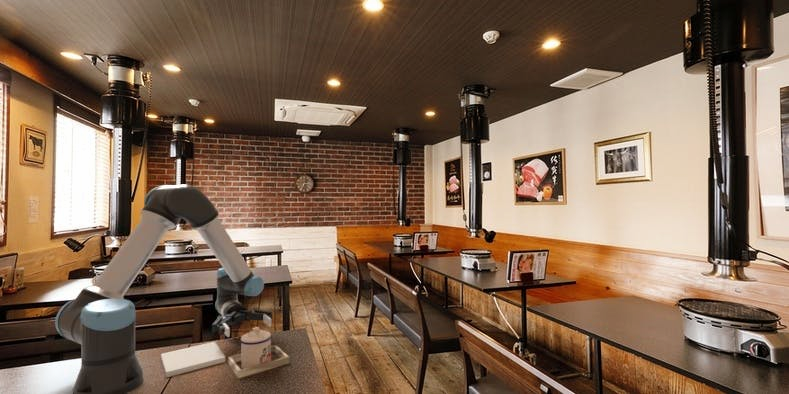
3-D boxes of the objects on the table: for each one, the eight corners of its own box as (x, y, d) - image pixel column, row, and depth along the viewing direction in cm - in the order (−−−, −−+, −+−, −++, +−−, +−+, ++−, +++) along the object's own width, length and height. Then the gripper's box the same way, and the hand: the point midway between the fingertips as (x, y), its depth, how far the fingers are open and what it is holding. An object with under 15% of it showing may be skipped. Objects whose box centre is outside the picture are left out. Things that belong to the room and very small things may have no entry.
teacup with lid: (264, 372, 107) (264, 333, 107) (235, 372, 107) (234, 333, 107) (279, 354, 119) (279, 319, 119) (252, 354, 119) (252, 319, 119)
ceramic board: (160, 358, 117) (160, 353, 117) (214, 345, 127) (214, 341, 127) (166, 377, 104) (166, 372, 104) (225, 361, 114) (225, 357, 114)
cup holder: (228, 363, 113) (228, 357, 113) (275, 350, 122) (275, 344, 122) (238, 378, 103) (238, 371, 103) (289, 363, 112) (289, 356, 113)
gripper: (266, 314, 145) (286, 329, 128) (197, 329, 130) (209, 349, 113) (266, 296, 145) (285, 308, 128) (197, 309, 130) (209, 325, 113)
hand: (250, 327), depth 121 cm, fingers open, 13 cm apart
